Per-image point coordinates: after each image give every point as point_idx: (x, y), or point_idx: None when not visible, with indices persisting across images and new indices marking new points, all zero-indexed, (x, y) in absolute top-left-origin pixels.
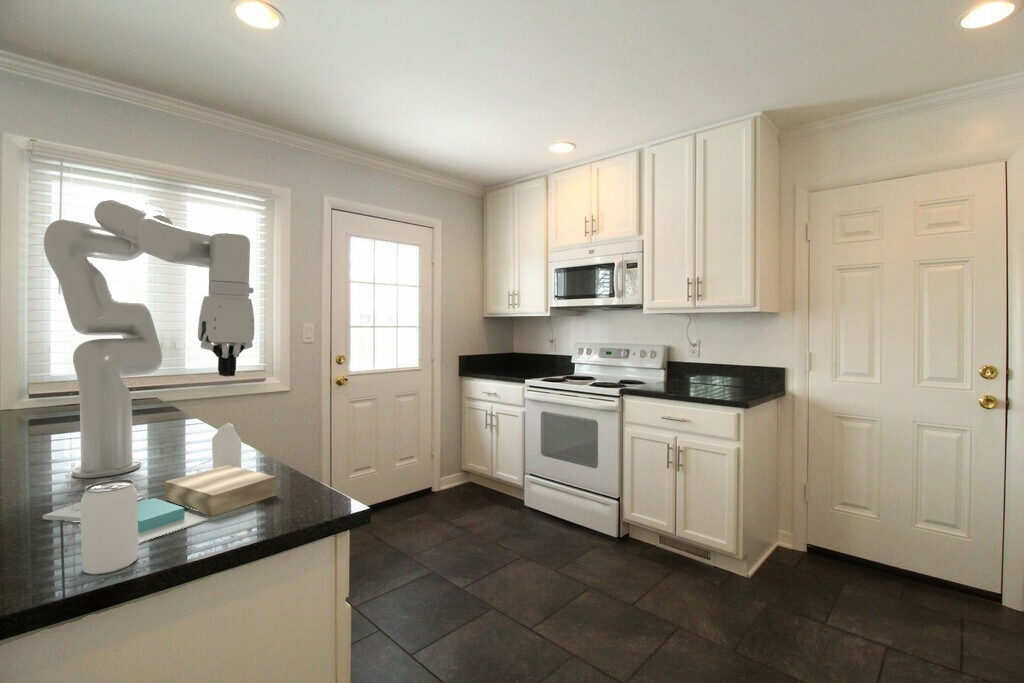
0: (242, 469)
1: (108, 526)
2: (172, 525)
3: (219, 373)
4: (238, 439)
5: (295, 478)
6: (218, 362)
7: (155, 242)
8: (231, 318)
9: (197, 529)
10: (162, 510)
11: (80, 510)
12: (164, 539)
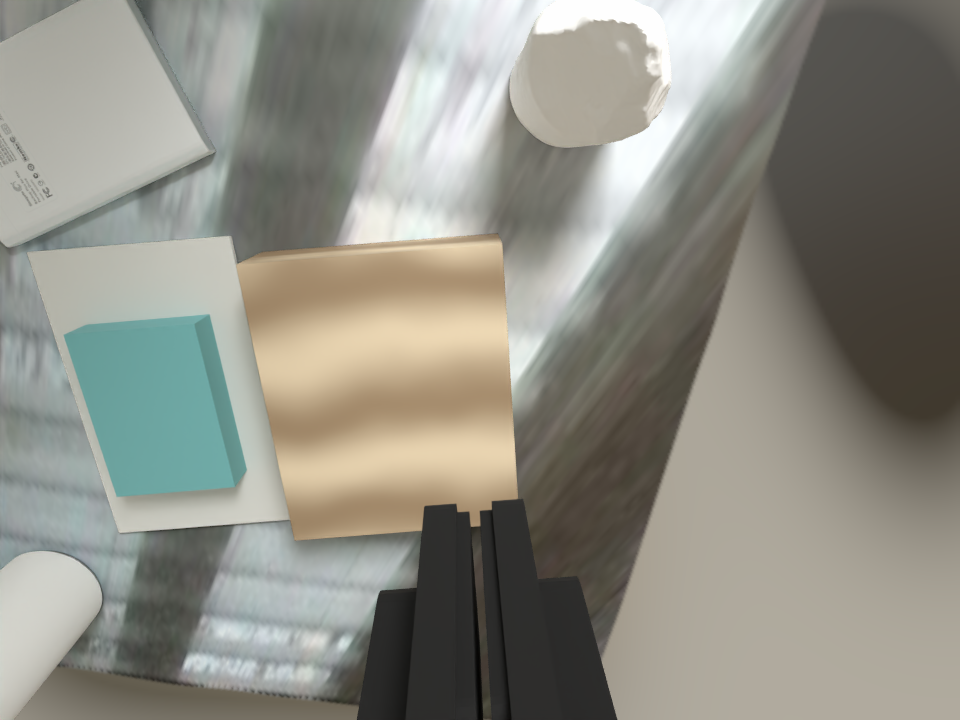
0: (500, 354)
1: None
2: (208, 492)
3: (425, 519)
4: (634, 134)
5: (665, 388)
6: (361, 703)
7: None
8: None
9: (250, 548)
10: (181, 462)
11: (7, 162)
12: (174, 545)
